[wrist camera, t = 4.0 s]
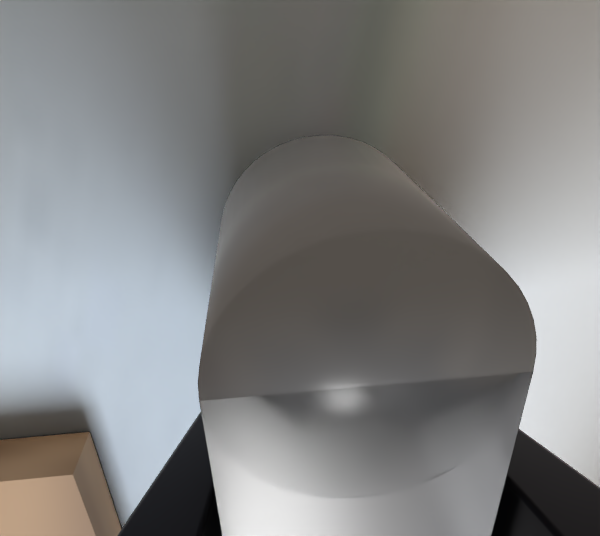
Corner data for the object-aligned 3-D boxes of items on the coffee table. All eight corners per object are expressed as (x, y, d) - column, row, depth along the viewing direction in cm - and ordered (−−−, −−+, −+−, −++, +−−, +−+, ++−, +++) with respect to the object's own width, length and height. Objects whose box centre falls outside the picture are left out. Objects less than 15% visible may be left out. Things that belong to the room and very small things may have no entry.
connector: (426, 129, 8) (572, 217, 4) (386, 561, 13) (435, 754, 10) (208, 140, 8) (172, 243, 4) (260, 576, 13) (264, 779, 10)
